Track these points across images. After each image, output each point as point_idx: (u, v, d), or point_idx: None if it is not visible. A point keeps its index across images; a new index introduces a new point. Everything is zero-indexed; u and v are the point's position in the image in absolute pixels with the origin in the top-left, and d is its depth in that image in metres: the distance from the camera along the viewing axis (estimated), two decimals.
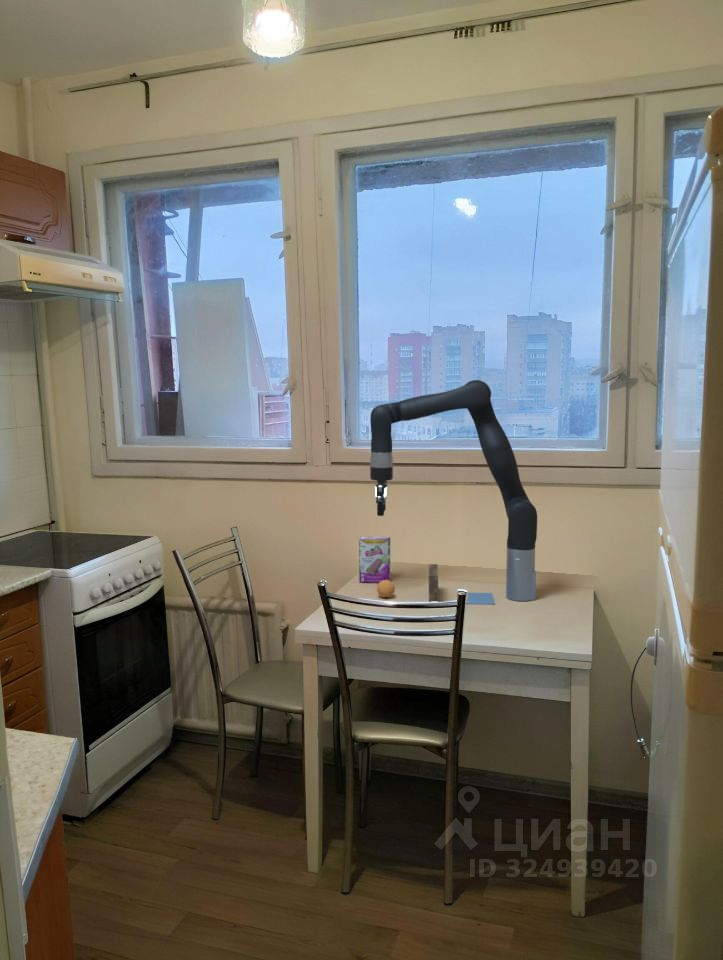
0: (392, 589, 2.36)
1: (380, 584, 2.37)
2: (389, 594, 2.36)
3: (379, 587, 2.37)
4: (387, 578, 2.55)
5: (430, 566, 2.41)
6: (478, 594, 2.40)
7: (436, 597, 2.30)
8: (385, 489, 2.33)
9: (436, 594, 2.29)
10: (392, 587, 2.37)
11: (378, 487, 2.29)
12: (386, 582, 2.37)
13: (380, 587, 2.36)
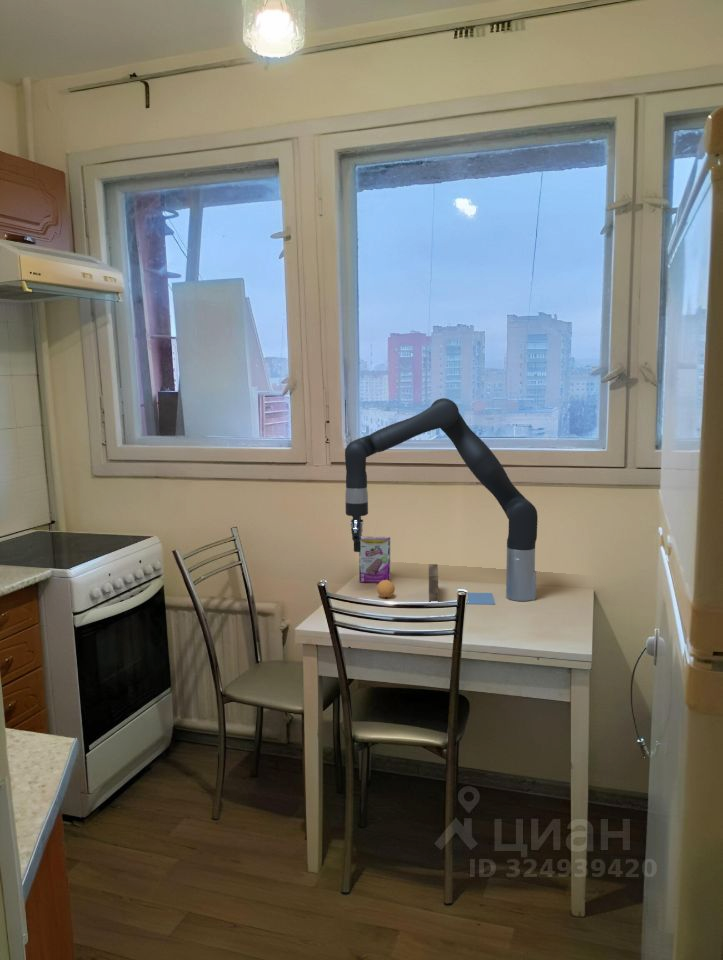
0: (392, 589, 2.36)
1: (380, 584, 2.37)
2: (389, 594, 2.36)
3: (379, 587, 2.37)
4: (387, 578, 2.55)
5: (430, 566, 2.41)
6: (478, 594, 2.40)
7: (436, 597, 2.30)
8: (360, 526, 2.34)
9: (436, 594, 2.29)
10: (392, 587, 2.37)
11: (353, 530, 2.31)
12: (386, 582, 2.37)
13: (380, 587, 2.36)
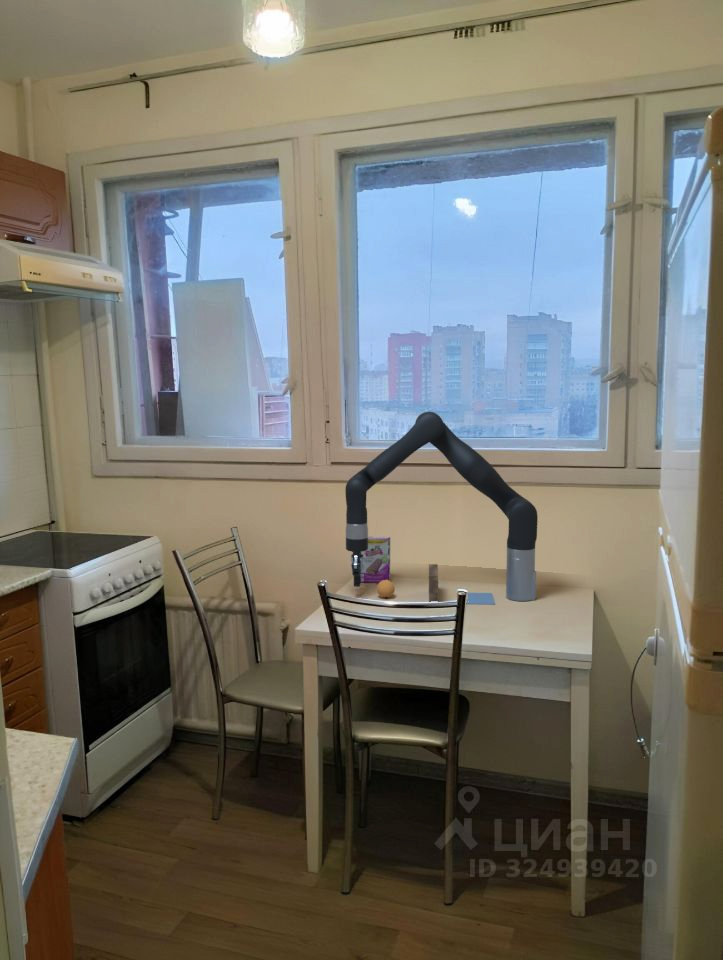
0: (392, 589, 2.36)
1: (380, 584, 2.37)
2: (389, 594, 2.36)
3: (379, 587, 2.37)
4: (387, 578, 2.55)
5: (430, 566, 2.41)
6: (478, 594, 2.40)
7: (436, 597, 2.30)
8: (360, 561, 2.36)
9: (436, 594, 2.29)
10: (392, 587, 2.37)
11: (353, 566, 2.32)
12: (386, 582, 2.37)
13: (380, 587, 2.36)
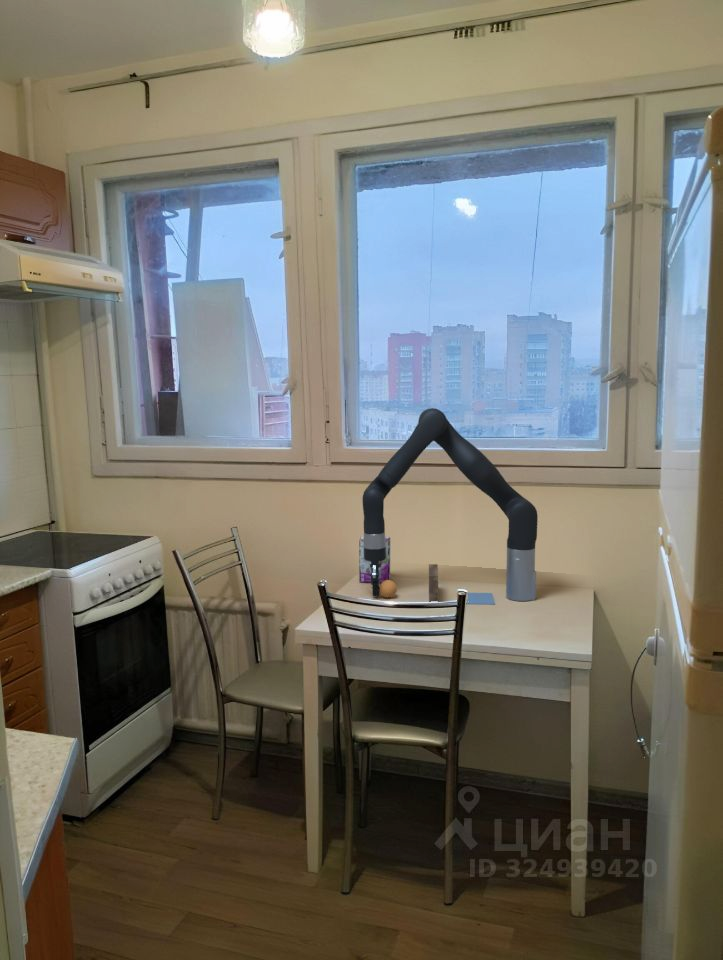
0: (394, 590, 2.36)
1: (383, 583, 2.37)
2: (391, 594, 2.36)
3: (382, 586, 2.37)
4: (387, 578, 2.55)
5: (430, 566, 2.41)
6: (478, 594, 2.40)
7: (436, 597, 2.30)
8: (379, 571, 2.36)
9: (436, 594, 2.29)
10: (394, 588, 2.37)
11: (372, 576, 2.32)
12: (389, 582, 2.37)
13: (383, 586, 2.36)
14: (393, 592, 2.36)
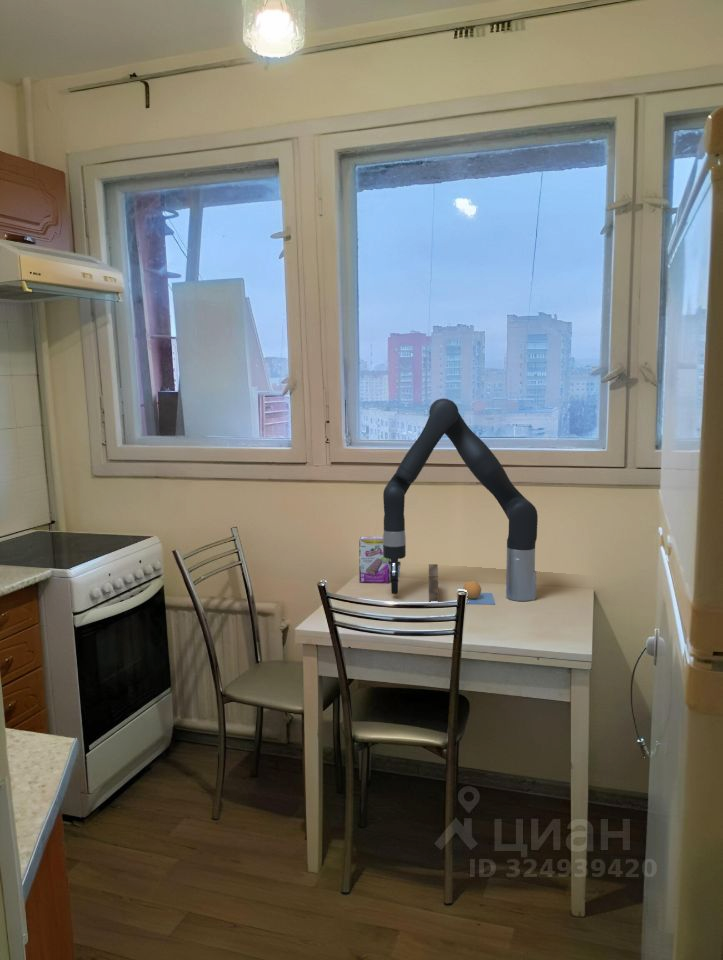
0: None
1: (477, 596, 2.34)
2: (468, 588, 2.34)
3: (478, 594, 2.34)
4: (387, 578, 2.55)
5: (430, 566, 2.41)
6: None
7: (436, 597, 2.30)
8: (398, 568, 2.35)
9: (436, 594, 2.29)
10: None
11: (392, 573, 2.31)
12: (471, 598, 2.35)
13: (477, 594, 2.34)
14: None
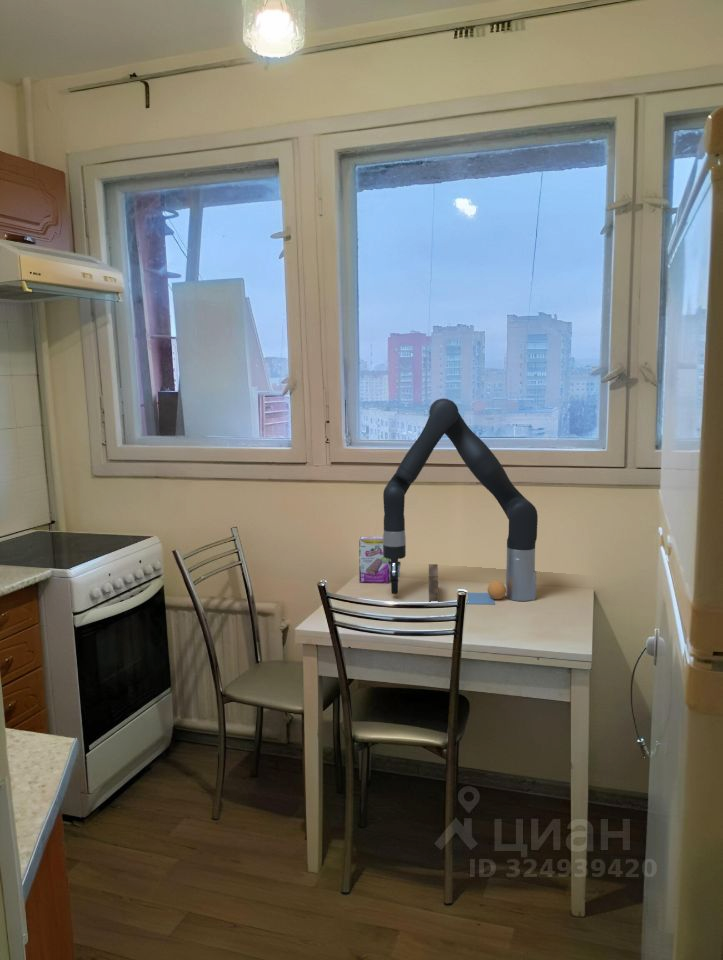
0: (503, 587, 2.33)
1: (489, 588, 2.34)
2: (502, 593, 2.33)
3: (490, 592, 2.33)
4: (387, 578, 2.55)
5: (430, 566, 2.41)
6: (478, 594, 2.40)
7: (436, 597, 2.30)
8: (398, 568, 2.35)
9: (436, 594, 2.29)
10: (502, 585, 2.33)
11: (392, 573, 2.31)
12: (494, 584, 2.33)
13: (491, 591, 2.33)
14: (503, 590, 2.33)
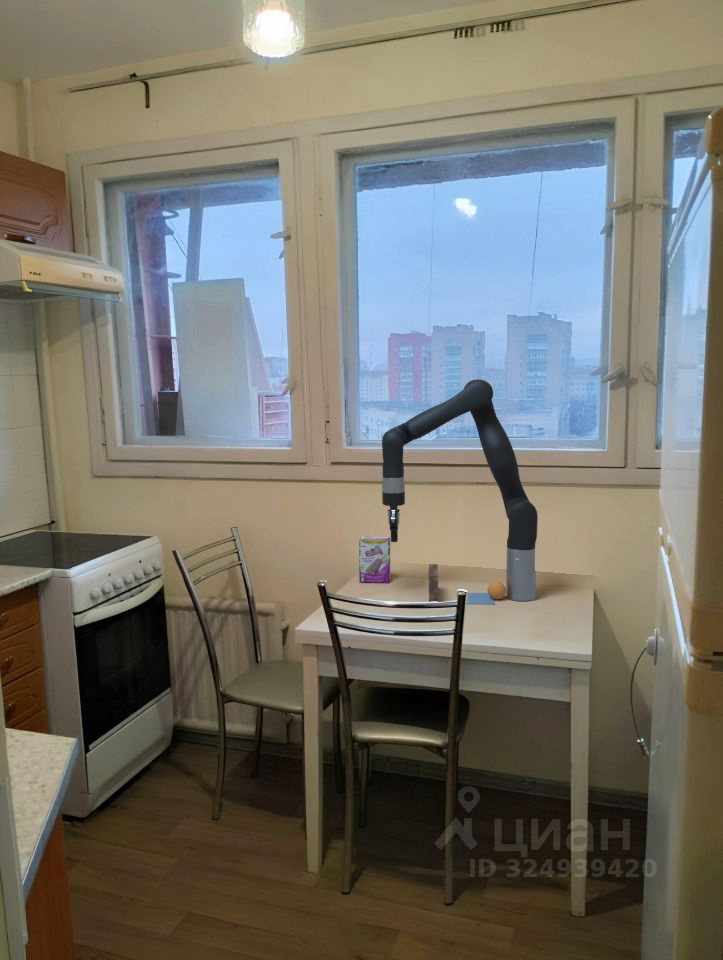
0: (503, 587, 2.33)
1: (489, 588, 2.34)
2: (502, 593, 2.33)
3: (490, 592, 2.33)
4: (387, 578, 2.55)
5: (430, 566, 2.41)
6: (478, 594, 2.40)
7: (436, 597, 2.30)
8: (398, 516, 2.33)
9: (436, 594, 2.29)
10: (502, 585, 2.33)
11: (391, 520, 2.29)
12: (494, 584, 2.33)
13: (491, 591, 2.33)
14: (503, 590, 2.33)
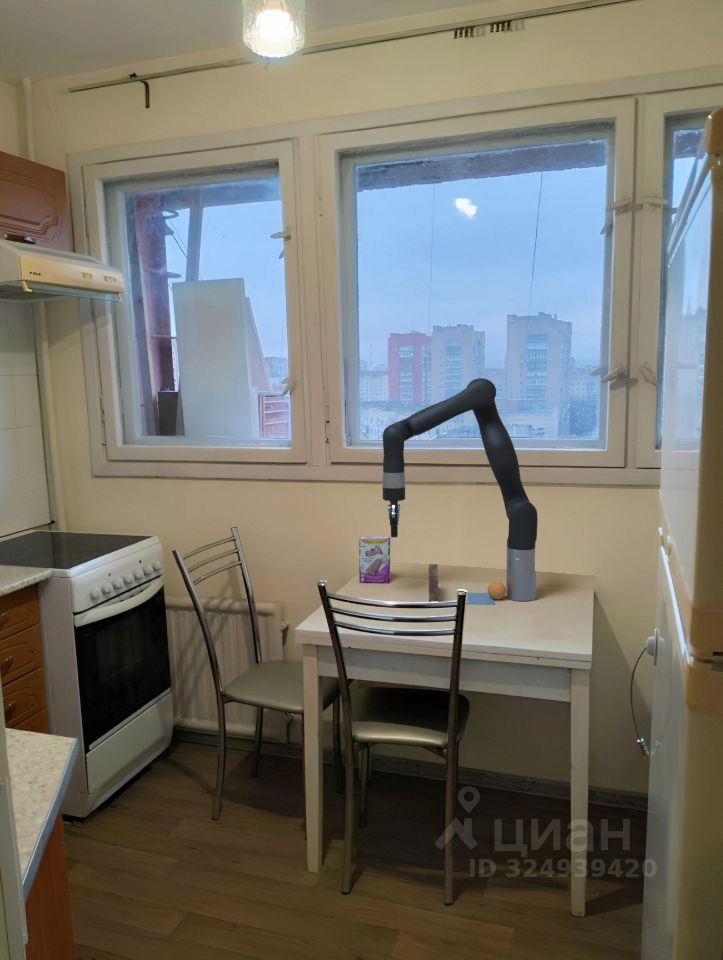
0: (503, 587, 2.33)
1: (489, 588, 2.34)
2: (502, 593, 2.33)
3: (490, 592, 2.33)
4: (387, 578, 2.55)
5: (430, 566, 2.41)
6: (478, 594, 2.40)
7: (436, 597, 2.30)
8: (398, 511, 2.33)
9: (436, 594, 2.29)
10: (502, 585, 2.33)
11: (391, 515, 2.29)
12: (494, 584, 2.33)
13: (491, 591, 2.33)
14: (503, 590, 2.33)
